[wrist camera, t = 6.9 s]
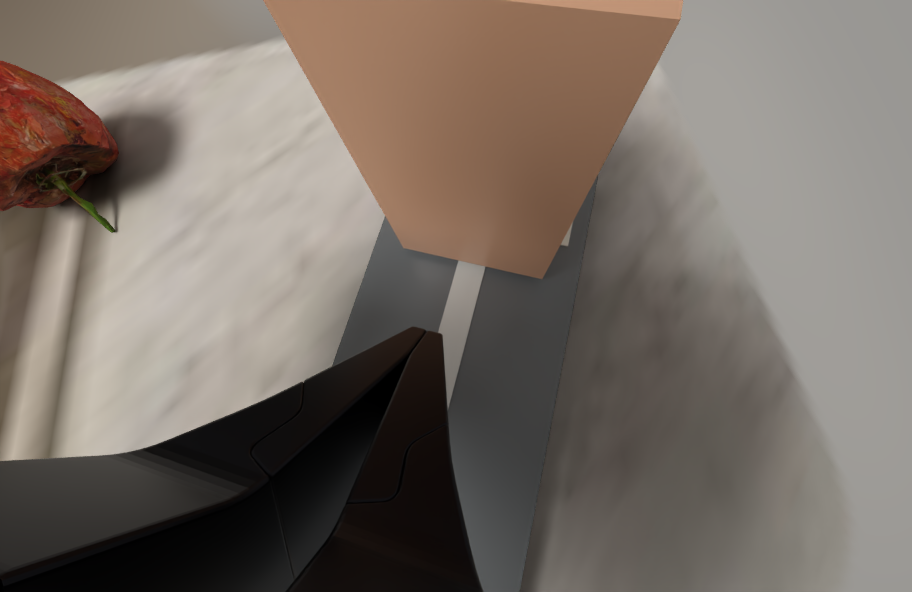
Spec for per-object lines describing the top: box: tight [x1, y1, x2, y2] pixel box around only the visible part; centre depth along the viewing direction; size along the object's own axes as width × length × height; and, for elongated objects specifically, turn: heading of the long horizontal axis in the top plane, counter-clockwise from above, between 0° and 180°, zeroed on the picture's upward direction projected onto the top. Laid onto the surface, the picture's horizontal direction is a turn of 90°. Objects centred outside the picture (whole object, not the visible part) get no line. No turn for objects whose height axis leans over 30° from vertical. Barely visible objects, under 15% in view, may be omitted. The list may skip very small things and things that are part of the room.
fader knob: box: [263, 0, 683, 279], centre depth 10 cm, size 4×6×10 cm, turn 75°
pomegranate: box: [0, 61, 119, 232], centre depth 17 cm, size 7×7×10 cm
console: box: [332, 175, 598, 592], centre depth 14 cm, size 22×9×2 cm, turn 165°
